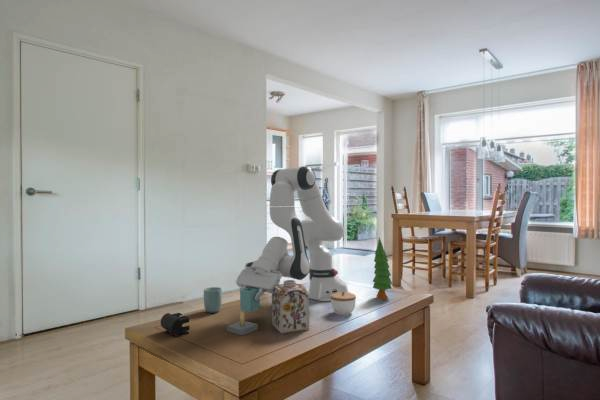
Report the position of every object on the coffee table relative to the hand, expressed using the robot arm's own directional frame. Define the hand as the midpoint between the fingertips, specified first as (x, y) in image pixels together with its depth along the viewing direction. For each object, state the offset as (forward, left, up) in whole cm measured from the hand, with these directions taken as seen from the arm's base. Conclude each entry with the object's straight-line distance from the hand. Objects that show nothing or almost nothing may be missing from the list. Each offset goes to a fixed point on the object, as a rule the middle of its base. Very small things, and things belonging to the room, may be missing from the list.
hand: (248, 298), depth 158 cm
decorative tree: (-62, -35, -10) cm, 72 cm away
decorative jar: (-16, +5, -10) cm, 20 cm away
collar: (0, -1, -4) cm, 4 cm away
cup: (+18, -18, -10) cm, 28 cm away
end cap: (+27, +9, -10) cm, 30 cm away
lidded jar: (-39, -11, -10) cm, 42 cm away
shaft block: (+2, +8, -10) cm, 13 cm away
